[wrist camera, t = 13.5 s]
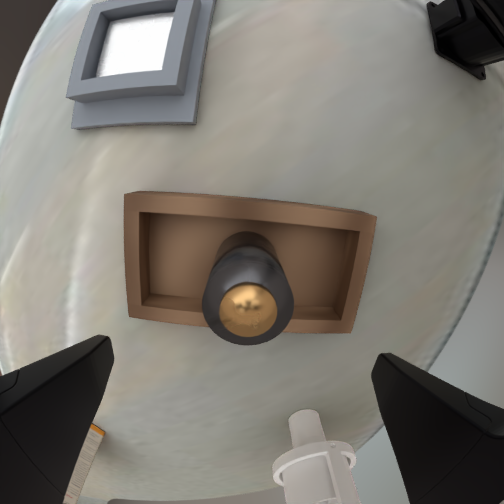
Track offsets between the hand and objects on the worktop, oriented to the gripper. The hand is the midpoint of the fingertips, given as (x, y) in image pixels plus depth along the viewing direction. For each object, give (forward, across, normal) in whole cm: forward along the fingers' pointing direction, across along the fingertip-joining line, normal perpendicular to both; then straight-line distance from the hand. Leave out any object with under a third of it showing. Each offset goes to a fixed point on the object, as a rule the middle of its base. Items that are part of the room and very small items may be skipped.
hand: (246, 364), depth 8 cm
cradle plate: (+10, +8, -14) cm, 19 cm away
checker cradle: (+11, +8, -14) cm, 20 cm away
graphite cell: (+10, 0, 0) cm, 10 cm away
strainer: (+11, -7, +16) cm, 21 cm away
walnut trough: (+11, 0, 0) cm, 11 cm away
